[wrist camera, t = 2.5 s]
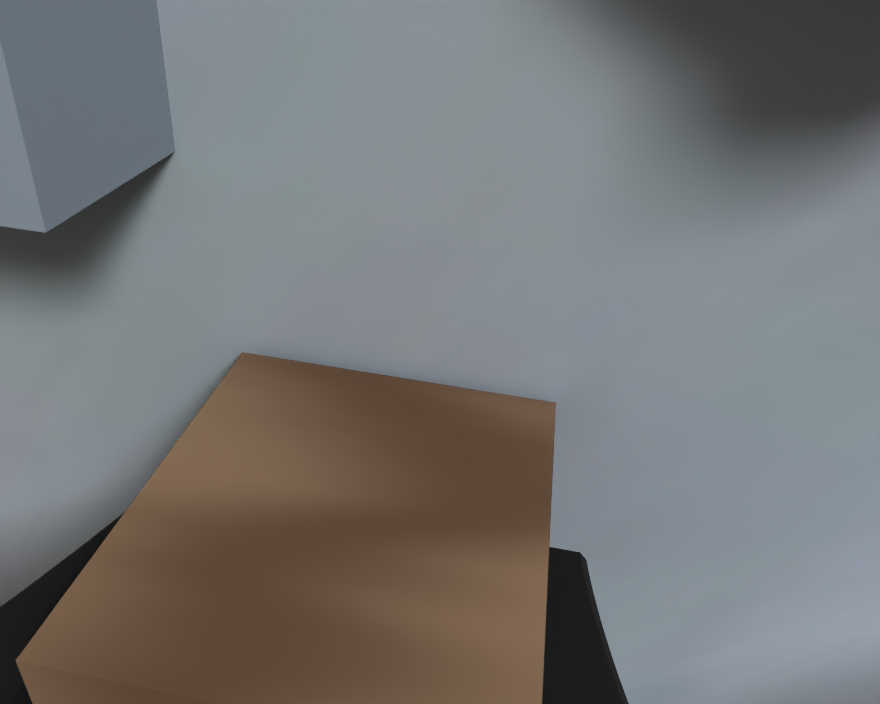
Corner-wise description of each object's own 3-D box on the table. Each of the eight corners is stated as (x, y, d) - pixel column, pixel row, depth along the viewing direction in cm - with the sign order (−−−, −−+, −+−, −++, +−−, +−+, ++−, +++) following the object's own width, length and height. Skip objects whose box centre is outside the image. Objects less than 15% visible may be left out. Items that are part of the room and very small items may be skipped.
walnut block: (556, 403, 10) (540, 769, 6) (512, 611, 12) (477, 975, 8) (242, 352, 10) (15, 661, 6) (260, 564, 13) (105, 887, 9)
